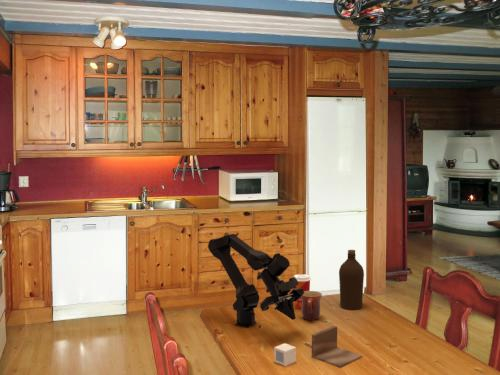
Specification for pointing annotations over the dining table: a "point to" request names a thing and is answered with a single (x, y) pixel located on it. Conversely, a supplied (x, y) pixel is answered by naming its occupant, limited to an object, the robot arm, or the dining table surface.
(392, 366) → the dining table surface
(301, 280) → the paper cup
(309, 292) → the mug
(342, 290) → the olive oil
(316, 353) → the bookend
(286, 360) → the letter cube
